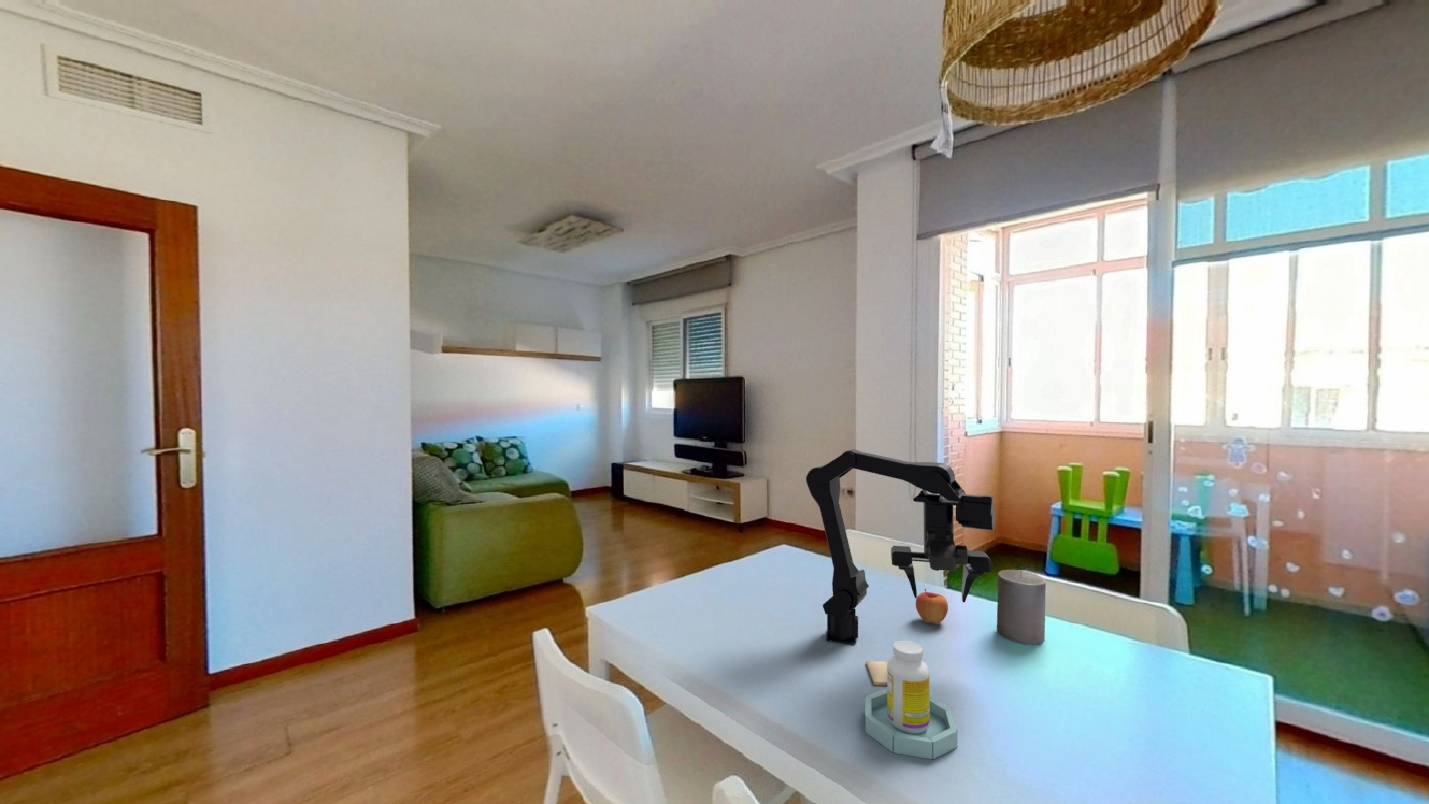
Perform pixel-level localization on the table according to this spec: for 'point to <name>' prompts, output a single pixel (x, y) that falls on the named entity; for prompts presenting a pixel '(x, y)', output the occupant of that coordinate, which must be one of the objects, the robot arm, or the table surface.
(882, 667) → the cork mat
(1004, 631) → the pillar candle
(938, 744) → the bowl
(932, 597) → the apple
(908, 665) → the supplement bottle
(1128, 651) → the table surface
